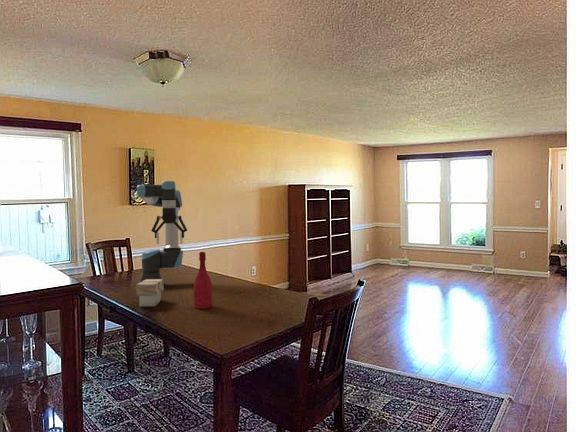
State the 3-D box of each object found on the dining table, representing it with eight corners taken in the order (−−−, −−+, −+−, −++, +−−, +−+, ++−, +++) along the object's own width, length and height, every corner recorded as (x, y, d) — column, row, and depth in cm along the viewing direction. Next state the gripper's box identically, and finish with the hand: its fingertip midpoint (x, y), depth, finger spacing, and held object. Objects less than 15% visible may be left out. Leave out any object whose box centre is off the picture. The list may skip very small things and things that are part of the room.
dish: (145, 300, 245) (145, 290, 245) (160, 300, 245) (160, 289, 245) (139, 306, 232) (139, 295, 232) (155, 306, 232) (155, 295, 232)
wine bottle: (216, 306, 232) (215, 251, 230) (203, 310, 223) (203, 253, 221) (202, 303, 237) (201, 250, 235) (189, 308, 228) (189, 252, 226)
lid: (146, 289, 246) (146, 279, 246) (163, 289, 246) (163, 279, 246) (136, 295, 231) (136, 284, 231) (154, 295, 231) (154, 284, 231)
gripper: (145, 207, 245) (146, 244, 246) (189, 207, 246) (190, 244, 248) (148, 207, 252) (149, 243, 253) (191, 207, 254) (192, 242, 255)
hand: (169, 243), depth 250 cm, fingers open, 13 cm apart
